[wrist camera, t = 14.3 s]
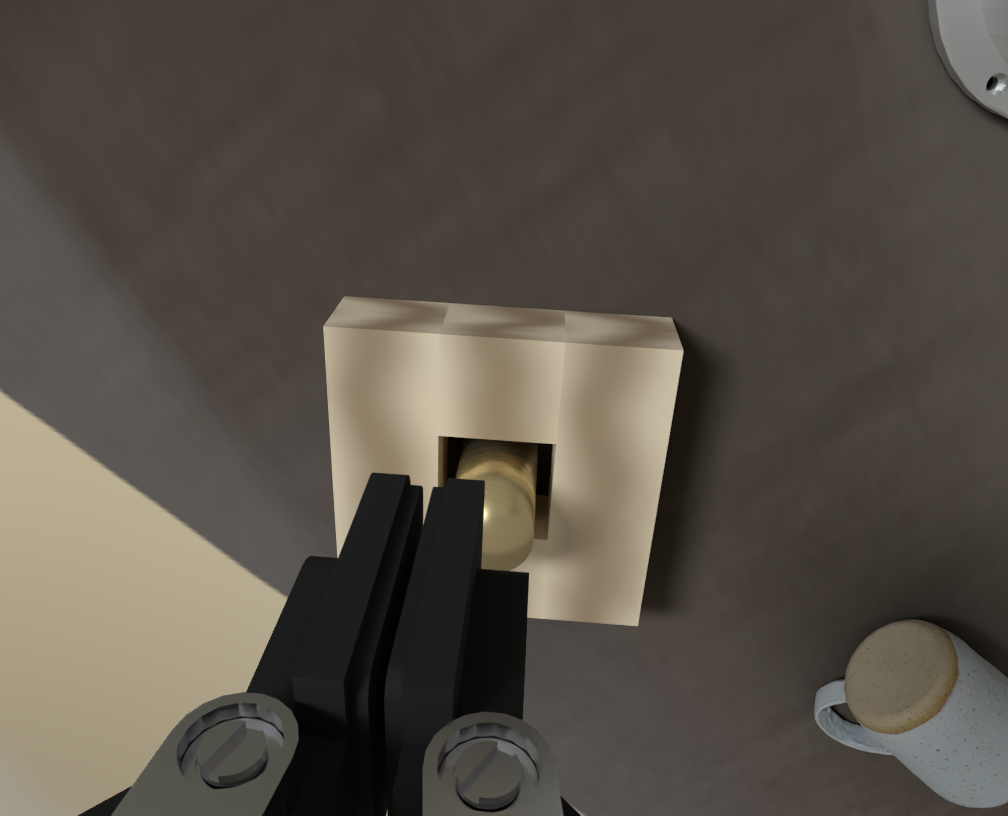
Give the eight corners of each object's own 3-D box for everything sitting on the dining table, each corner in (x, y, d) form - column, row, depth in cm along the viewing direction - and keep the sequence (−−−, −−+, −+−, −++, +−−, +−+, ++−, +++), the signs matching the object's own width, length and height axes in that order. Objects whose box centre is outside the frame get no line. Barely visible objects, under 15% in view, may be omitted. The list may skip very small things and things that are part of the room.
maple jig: (671, 317, 38) (683, 350, 35) (631, 577, 46) (637, 626, 42) (344, 296, 39) (323, 326, 35) (356, 556, 46) (340, 602, 43)
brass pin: (540, 417, 41) (536, 504, 34) (535, 482, 43) (530, 576, 36) (464, 412, 42) (444, 497, 34) (462, 476, 43) (443, 570, 36)
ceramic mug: (919, 585, 45) (981, 692, 38) (1009, 657, 47) (1082, 771, 40) (776, 683, 49) (809, 794, 43) (863, 745, 51) (908, 861, 45)
